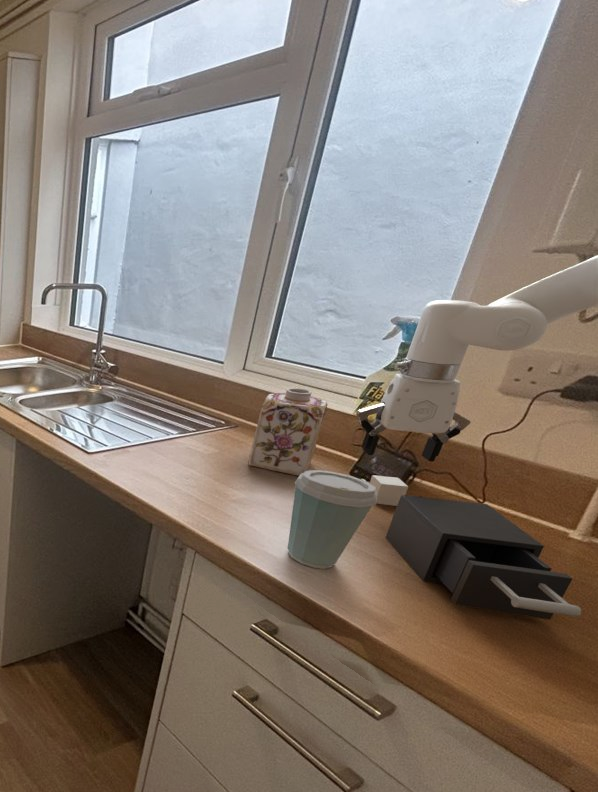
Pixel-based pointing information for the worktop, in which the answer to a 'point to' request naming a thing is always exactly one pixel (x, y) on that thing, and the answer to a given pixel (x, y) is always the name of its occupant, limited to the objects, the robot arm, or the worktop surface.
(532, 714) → the worktop surface
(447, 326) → the robot arm
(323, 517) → the disposable coffee cup
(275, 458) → the decorative jar
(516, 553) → the drawer
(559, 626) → the worktop surface
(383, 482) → the block
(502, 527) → the black cabinet
